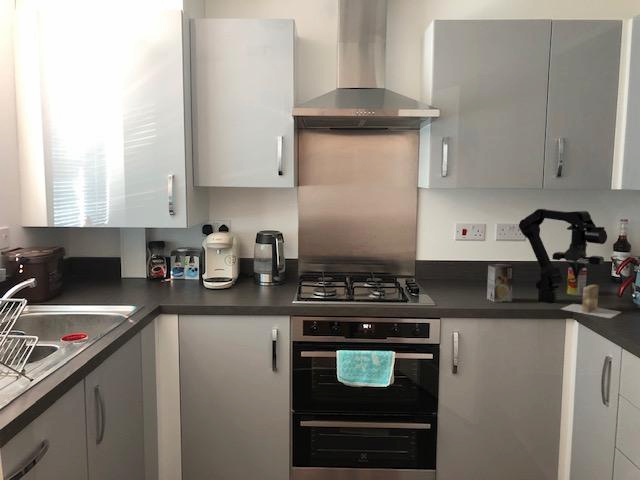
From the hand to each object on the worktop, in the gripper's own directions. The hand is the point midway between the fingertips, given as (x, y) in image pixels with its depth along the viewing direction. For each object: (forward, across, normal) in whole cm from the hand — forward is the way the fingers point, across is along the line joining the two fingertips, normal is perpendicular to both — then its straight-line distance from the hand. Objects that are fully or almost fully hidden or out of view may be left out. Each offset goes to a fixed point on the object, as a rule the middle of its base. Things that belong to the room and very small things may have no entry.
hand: (576, 278), depth 219 cm
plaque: (+12, +6, 0) cm, 14 cm away
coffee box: (+13, -29, -9) cm, 33 cm away
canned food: (+13, -11, +31) cm, 35 cm away
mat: (+13, +6, 0) cm, 15 cm away
